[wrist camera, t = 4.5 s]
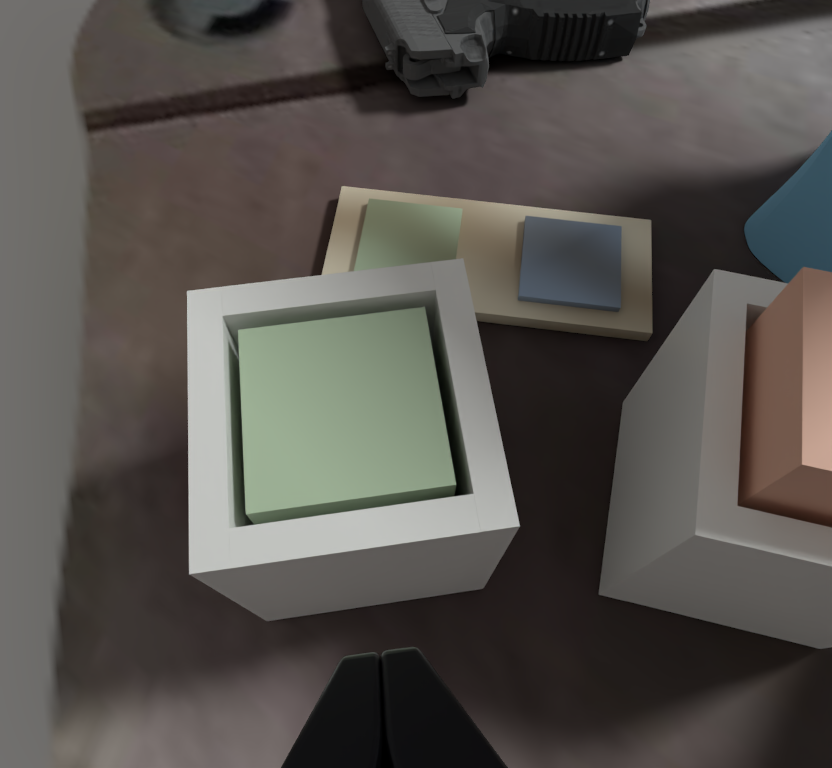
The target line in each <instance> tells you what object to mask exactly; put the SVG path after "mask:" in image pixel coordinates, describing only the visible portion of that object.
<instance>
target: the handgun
mask: <svg viewBox="0 0 832 768" xmlns="http://www.w3.org/2000/svg"><path fill="white" fill-rule="evenodd" d="M362 2H363V10H364V12H365V14H366V16H367V18H368V20H369V22H370V24H371V26H372V28H373V30H374V32H375V34H376V36H377V38H378V40H379V42H380V44H381V46H382V48H383V50H384V52H385V54H386V56H387V58H388V60H389V61H388V62H387V63H386V65H385V67H386V70H392V69H393V70H394V72H395V74H396V75H397V76H398V77H399V78H400V79H401V80H402V81H403V82H404V83H405V84H406V85H407V87H408V89H409V91H410V93H411V94H412V95H415V96H418V97H424V96H439V95H449V94H450V95H451V97H452V99H453V98H458V97H460V96H461V95H462V94H463V93H464V92H465V91H466V90H467V89H468V88H473V87H479V86H480V87H482V88H483V86H484V84H485V82H486V78H487V73H488V69H489V59H488V58H490V57H492V56H494V55H496V54H505V55H509V56H515V57H522V58H527V59H531V60H538V59H540V60H551V61H556V60H559V61H564V60H567V61H573V60H576V61H581V60H589V59H594V60H595V59H603V58H611V57H619V56H628V55H629V53H630V51H631V49H632V46H633V44H634V42H635V40H636V38H638V37H642V36H643V35H644V32H645V29H646V24H645V18H646V15H647V12H648V9H649V3H650V0H362Z"/></svg>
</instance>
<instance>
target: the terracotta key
mask: <svg viewBox="0 0 832 768" xmlns="http://www.w3.org/2000/svg"><path fill="white" fill-rule="evenodd" d="M737 506H740V507H744V508H749V509H753V510H757V511H762V512H766V513H771V514H775V515H779V516H784V517H788V518H792V519H797V520H801V521H805V522H810V523H814V524H819V525H823V526H827V527H832V272H828V271H823V270H818V269H813V268H807V267H803V268H802V269H801V270H800V271H799V272H798V273H797V274H796V276H795V277H794V278H793V279H792V280H791V281H790V282H789V283H788V285H787V286H786V287H785V288H784V289H783V290H782V291H781V293H780V294H779V295H778V296H777V297H776V298H775V299H774V300H773V302H772V303H771V304H770V305H769V306H768V307H767V308H766V310H765V311H764V312H763V313H762V314H761V315H760V316H759V317H758V319H757V320H756V321H755V322H754V323H753V324H752V325H751V327H750V328H749V329H748V330H747V331H746V333H745V354H744V375H743V397H742V418H741V440H740V461H739V482H738V504H737Z"/></svg>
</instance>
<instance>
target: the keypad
mask: <svg viewBox="0 0 832 768" xmlns="http://www.w3.org/2000/svg"><path fill="white" fill-rule="evenodd" d="M787 285H788V283H783V282H778V281H773V280H768V279H763V278H758V277H753V276H748V275H743V274H738V273H733V272H728V271H723V270H718V269H714V270H713V271H712V273H711V274H710V276H709V277H708V279H707V280H706V282H705V283H704V285H703V286H702V288H701V289H700V290H699V292H698V293H697V295H696V296H695V298H694V299H693V301H692V302H691V304H690V305H689V307H688V308H687V309H686V311H685V312H684V314H683V315H682V317H681V318H680V320H679V321H678V323H677V324H676V325H675V327H674V328H673V330H672V331H671V333H670V334H669V336H668V337H667V339H666V340H665V342H664V343H663V344H662V346H661V347H660V349H659V350H658V352H657V353H656V355H655V356H654V358H653V359H652V361H651V362H650V363H649V365H648V366H647V368H646V369H645V371H644V372H643V374H642V375H641V377H640V378H639V380H638V381H637V382H636V384H635V385H634V387H633V388H632V390H631V391H630V393H629V394H628V396H627V397H626V399H625V400H624V401H623V405H622V413H621V421H620V429H619V437H618V445H617V453H616V460H615V468H614V476H613V484H612V492H611V500H610V508H609V515H608V523H607V531H606V539H605V547H604V555H603V563H602V571H601V578H600V586H599V594H598V595H602V596H606V597H610V598H614V599H618V600H622V601H628V602H632V603H636V604H640V605H644V606H648V607H652V608H656V609H660V610H664V611H668V612H672V613H676V614H680V615H684V616H688V617H693V618H697V619H701V620H705V621H709V622H713V623H717V624H721V625H725V626H729V627H733V628H737V629H741V630H745V631H749V632H753V633H757V634H762V635H766V636H770V637H774V638H778V639H782V640H786V641H790V642H794V643H798V644H802V645H806V646H810V647H814V648H818V649H824V648H831V647H832V527H827V526H823V525H819V524H814V523H810V522H805V521H801V520H797V519H792V518H788V517H784V516H779V515H775V514H771V513H766V512H762V511H757V510H753V509H749V508H744V507H740V506H737V504H738V482H739V461H740V440H741V418H742V397H743V375H744V354H745V333H746V331H747V330H748V329H749V328H750V327H751V325H752V324H753V323H754V322H755V321H756V320H757V319H758V317H759V316H760V315H761V314H762V313H763V312H764V311H765V310H766V308H767V307H768V306H769V305H770V304H771V303H772V302H773V300H774V299H775V298H776V297H777V296H778V295H779V294H780V293H781V291H782V290H783V289H784V288H785V287H786V286H787ZM420 307H425V310H426V316H427V321H428V327H429V333H430V338H431V344H432V350H433V355H434V361H435V367H436V372H437V378H438V384H439V389H440V395H441V401H442V406H443V412H444V418H445V423H446V429H447V435H448V440H449V446H450V452H451V457H452V463H453V469H454V474H455V480H456V489H455V494H454V497H447V498H440V499H433V500H426V501H419V502H412V503H405V504H398V505H391V506H383V507H376V508H369V509H362V510H355V511H348V512H341V513H334V514H327V515H320V516H313V517H306V518H299V519H292V520H285V521H277V522H270V523H263V524H256V525H255V524H254V523H253V522H252V521H251V520H250V519H249V517H248V516H247V515H246V508H245V485H244V461H243V437H242V413H241V389H240V366H239V342H238V330H241V329H249V328H257V327H265V326H274V325H282V324H290V323H298V322H306V321H314V320H322V319H330V318H339V317H347V316H355V315H363V314H371V313H379V312H387V311H396V310H404V309H412V308H420ZM187 334H188V489H189V575H191V576H193V577H194V578H196V579H198V580H199V581H201V582H203V583H204V584H206V585H208V586H209V587H211V588H213V589H214V590H216V591H218V592H219V593H221V594H223V595H224V596H226V597H227V598H229V599H231V600H232V601H234V602H236V603H237V604H239V605H241V606H242V607H244V608H246V609H247V610H249V611H251V612H252V613H254V614H256V615H257V616H259V617H261V618H262V619H264V620H266V621H273V620H279V619H286V618H293V617H300V616H306V615H313V614H320V613H326V612H333V611H340V610H346V609H353V608H359V607H366V606H373V605H379V604H386V603H393V602H399V601H406V600H413V599H419V598H426V597H432V596H439V595H446V594H452V593H458V592H465V591H472V590H478V589H483V588H484V587H485V585H486V583H487V582H488V580H489V578H490V577H491V575H492V573H493V571H494V570H495V568H496V566H497V565H498V563H499V561H500V559H501V558H502V556H503V554H504V553H505V551H506V549H507V547H508V546H509V544H510V542H511V541H512V539H513V537H514V536H515V534H516V532H517V530H518V529H519V527H520V524H519V519H518V515H517V510H516V505H515V501H514V496H513V491H512V486H511V482H510V477H509V472H508V467H507V463H506V458H505V453H504V448H503V444H502V439H501V434H500V430H499V425H498V420H497V415H496V411H495V406H494V401H493V396H492V392H491V387H490V382H489V377H488V373H487V368H486V363H485V359H484V354H483V349H482V344H481V340H480V335H479V330H478V325H477V321H476V316H475V311H474V306H473V302H472V297H471V292H470V288H469V283H468V278H467V273H466V269H465V264H464V259H463V258H461V259H453V260H444V261H436V262H427V263H418V264H410V265H401V266H393V267H385V268H376V269H368V270H359V271H351V272H343V273H334V274H326V275H317V276H309V277H300V278H292V279H284V280H275V281H267V282H258V283H250V284H241V285H233V286H225V287H217V288H208V289H200V290H192V291H187Z"/></svg>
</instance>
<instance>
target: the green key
mask: <svg viewBox="0 0 832 768" xmlns="http://www.w3.org/2000/svg"><path fill="white" fill-rule="evenodd" d="M238 342H239V366H240V389H241V413H242V437H243V461H244V485H245V508H246V515H247V516H248V517H249V519H250V520H251V521H252V522H253V523H254V524H255V525H256V524H263V523H270V522H277V521H285V520H292V519H299V518H306V517H313V516H320V515H327V514H334V513H341V512H348V511H355V510H362V509H369V508H376V507H383V506H391V505H398V504H405V503H412V502H419V501H426V500H433V499H440V498H447V497H454V494H455V489H456V480H455V474H454V469H453V463H452V457H451V452H450V446H449V440H448V435H447V429H446V423H445V418H444V412H443V406H442V401H441V395H440V389H439V384H438V378H437V372H436V367H435V361H434V355H433V350H432V344H431V338H430V333H429V327H428V321H427V316H426V310H425V307H420V308H412V309H404V310H396V311H387V312H379V313H371V314H363V315H355V316H347V317H339V318H330V319H322V320H314V321H306V322H298V323H290V324H282V325H274V326H265V327H257V328H249V329H241V330H238Z"/></svg>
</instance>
